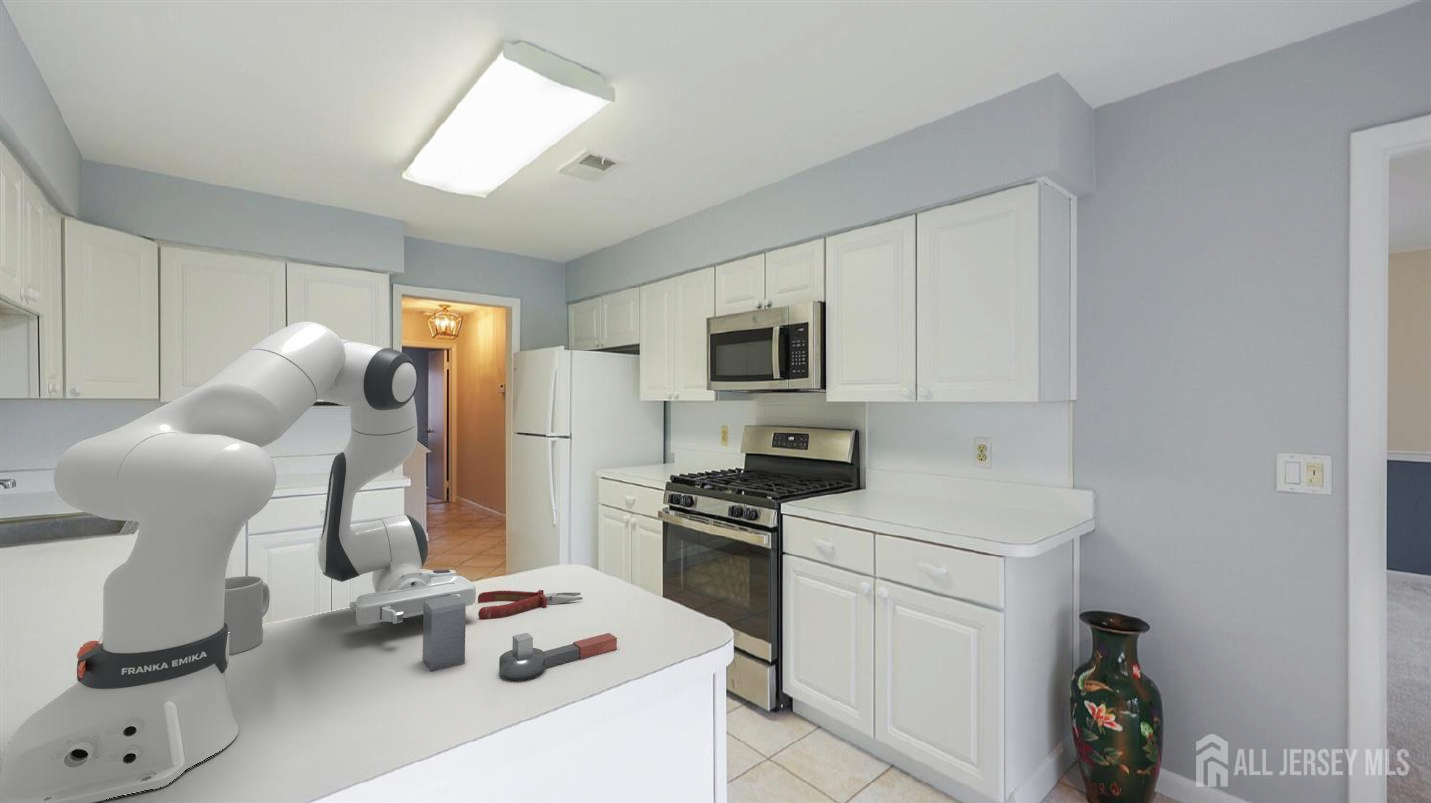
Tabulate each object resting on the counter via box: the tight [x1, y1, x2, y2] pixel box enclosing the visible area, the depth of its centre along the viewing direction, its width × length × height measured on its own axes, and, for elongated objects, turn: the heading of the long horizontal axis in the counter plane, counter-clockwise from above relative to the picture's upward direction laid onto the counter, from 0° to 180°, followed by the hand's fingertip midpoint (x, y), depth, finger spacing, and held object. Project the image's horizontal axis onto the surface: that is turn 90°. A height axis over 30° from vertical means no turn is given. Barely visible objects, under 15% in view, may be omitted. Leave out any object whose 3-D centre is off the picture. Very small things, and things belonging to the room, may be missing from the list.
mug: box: [224, 575, 271, 656], centre depth 107 cm, size 12×8×11 cm
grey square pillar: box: [422, 595, 467, 672], centre depth 101 cm, size 5×5×10 cm
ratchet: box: [498, 632, 618, 682], centre depth 102 cm, size 20×7×6 cm, turn 129°
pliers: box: [477, 589, 584, 620], centre depth 129 cm, size 12×21×3 cm, turn 112°
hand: (427, 612), depth 108 cm, fingers open, 8 cm apart
